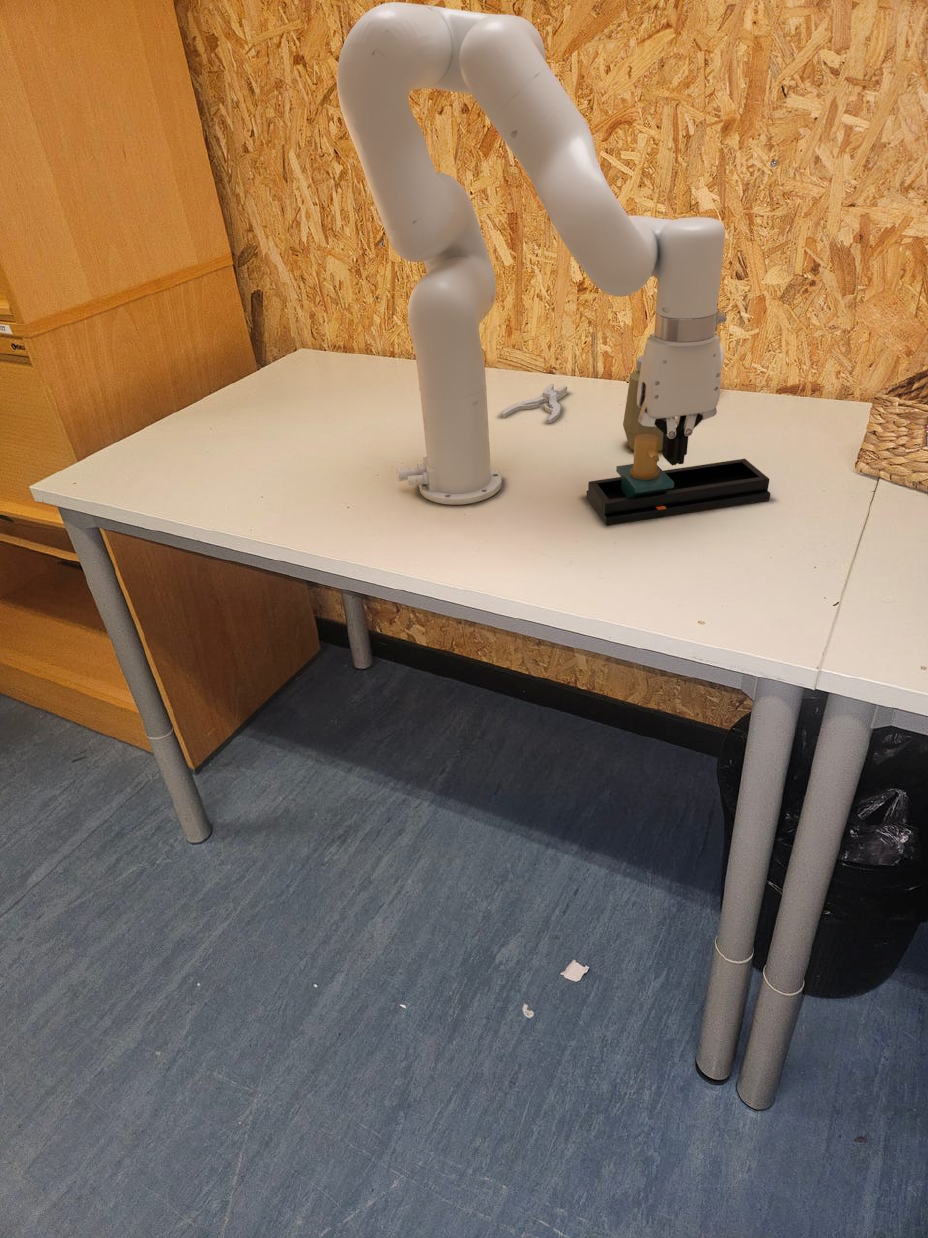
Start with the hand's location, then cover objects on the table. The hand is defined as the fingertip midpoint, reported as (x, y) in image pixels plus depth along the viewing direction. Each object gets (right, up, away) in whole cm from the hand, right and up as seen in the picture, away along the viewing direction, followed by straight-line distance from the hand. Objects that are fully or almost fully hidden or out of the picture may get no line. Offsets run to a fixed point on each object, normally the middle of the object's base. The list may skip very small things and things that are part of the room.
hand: (673, 460), depth 114 cm
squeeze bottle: (+1, +6, +19) cm, 20 cm away
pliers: (-15, +17, +38) cm, 44 cm away
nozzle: (-4, -4, +2) cm, 6 cm away
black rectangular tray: (+1, -5, +4) cm, 6 cm away
